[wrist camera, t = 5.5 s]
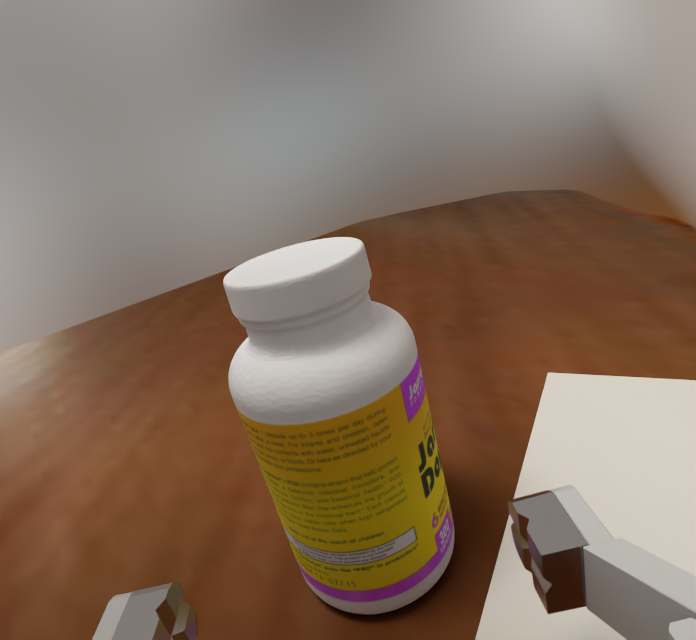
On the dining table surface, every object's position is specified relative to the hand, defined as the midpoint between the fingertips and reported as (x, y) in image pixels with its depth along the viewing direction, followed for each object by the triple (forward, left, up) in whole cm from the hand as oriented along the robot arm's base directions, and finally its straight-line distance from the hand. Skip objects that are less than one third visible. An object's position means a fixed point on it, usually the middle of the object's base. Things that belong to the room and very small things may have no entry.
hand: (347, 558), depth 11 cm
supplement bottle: (+5, +3, -7) cm, 9 cm away
